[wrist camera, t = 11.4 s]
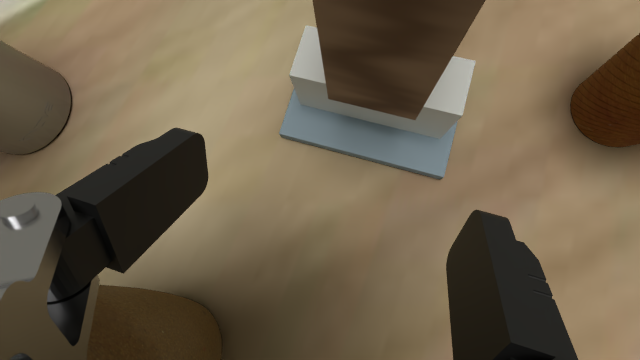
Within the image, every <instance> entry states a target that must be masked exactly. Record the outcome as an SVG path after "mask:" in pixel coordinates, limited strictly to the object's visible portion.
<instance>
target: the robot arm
mask: <svg viewBox="0 0 640 360" xmlns="http://www.w3.org/2000/svg"><path fill="white" fill-rule="evenodd" d="M70 106H71V95H70V91H69V87H68V85H67V83H66V81H65V79H64V78H63V77H62V76H61V75H60V74H59V73H57V72H56V71H54V70H53V69H51V68H49V67H47V66H45V65H44V64H42V63H40V62H38V61H36V60H35V59H33V58H31V57H29V56H27V55H26V54H24V53H22V52H20V51H18V50H16V49H15V48H13V47H11V46H10V45H8V44H6V43H4V42H2V41H0V151H1V152H5V153H10V154H17V155H19V154H28V153H31V152H34V151H37V150H39V149H41V148H42V147H44V146H46V145H47V144H48V143H50V142H51V141H52V140H53V139H54V138H55V137H56V136H57V135H58V134H59V132H60V131H61V129H62V128H63V126H64V125H65V123H66V120H67V118H68V115H69V111H70ZM207 182H208V169H207V160H206V150H205V142H204V138H203V136H202V135H201V134H198V133H195V132H191V131H187V130H184V129H180V128H173V129H171V130H170V131H168V132H166V133H165V134H163V135H162V136H160V137H159V138H157V139H154V140H151V141H148V142H145V143H142V144H139V145H137V146H135V147H133V148H132V149H130V150H128V151H127V152H125V153H124V154H122V157H121V156H119V157H117V158H115V159H114V160H112V161H111V162H110V164H106V165H104V166H102V167H101V168H99V169H98V170H96V171H94V172H93V173H91V174H89V175H88V176H86V177H85V178H83V179H81V180H80V181H78V182H76V183H75V184H73V185H72V186H70V187H68V188H67V189H65V190H63V191H62V192H60V193H58V194H57V195H53V194H50V193H44V192H33V193H25V194H20V195H15V196H12V197H9V198H6V199H3V200H1V201H0V360H87V348H88V342H89V337H90V332H91V326H92V321H93V315H94V310H95V305H96V299H97V294H98V288H99V281H100V280H99V276H98V274H99V273H100V272H101V271H102V270H103V269H104V268H105V267H107V268H110V269H113V270H115V271H118V272H121V273H124V272H125V271H126V270H127V269H128V268H129V267H130V266H131V265H132V264H133V263H134V262H135V261H136V260H137V259H138V258H139V257H140V256H141V255H142V254H143V253H144V252H145V251H146V250H147V249H148V248H149V247H150V246H151V245H152V244H153V243H154V242H155V241H156V240H157V239H158V238H159V237H160V236H161V235H162V234H163V233H164V232H165V231H166V230H167V229H168V228H169V227H170V226H171V225H172V224H173V223H174V222H175V221H176V220H177V219H178V218H179V217H180V216H181V215H182V214H183V213H184V212H185V211H186V210H187V209H188V208H189V207H190V205H191V204H192V203H193V202H194V201H195V200H196V199H197V198H198V197H199V196H200V195H201V194H202V193H203V192H204V190H205V188H206V185H207ZM446 271H447V284H448V297H449V310H450V323H451V335H452V348H453V360H578V358H577V355H576V353H575V350H574V348H573V345H572V343H571V340H570V338H569V335H568V333H567V330H566V328H565V325H564V323H563V320H562V318H561V315H560V313H559V310H558V308H557V305H556V303H555V300H554V299H552V296H553V295H552V293H551V290H550V288H549V285H548V283H546V282H545V281H546V278H545V275H544V272H543V270H542V267H541V265H540V262H539V260H538V259H537V258H536V257H535V255H534V254H533V253H532V252H531V251H530V249H529V248H528V247H527V246H526V245H525V243H524V242H520V241H516V239H515V236H514V233H513V230H512V227H511V224H510V222H509V220H508V219H507V218H506V217H502V216H498V215H495V214H491V213H487V212H484V211H480V210H474V211H473V212H472V213H471V215H470V216H469V218H468V219H467V221H466V223H465V225H464V226H463V228H462V230H461V231H460V233H459V235H458V236H457V238H456V240H455V242H454V243H453V245H452V247H451V249H450V251H449V254H448V258H447V264H446Z"/></svg>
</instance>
